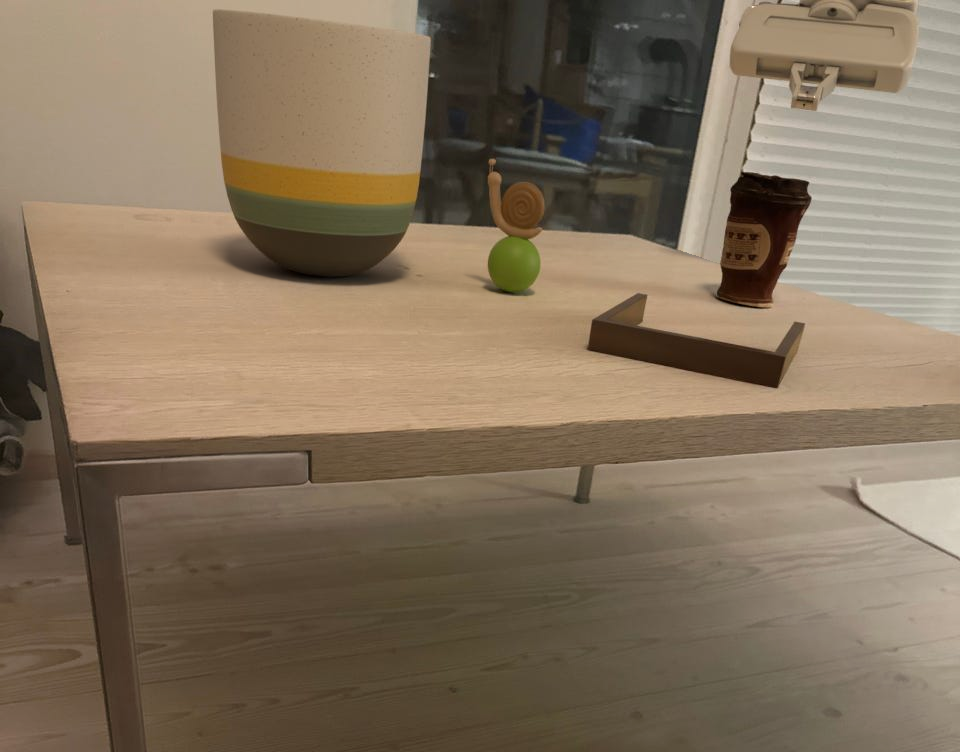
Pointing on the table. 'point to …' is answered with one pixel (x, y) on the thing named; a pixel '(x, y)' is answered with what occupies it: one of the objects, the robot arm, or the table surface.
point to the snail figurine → (515, 233)
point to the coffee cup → (760, 236)
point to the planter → (320, 136)
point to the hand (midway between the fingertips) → (804, 105)
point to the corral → (689, 347)
